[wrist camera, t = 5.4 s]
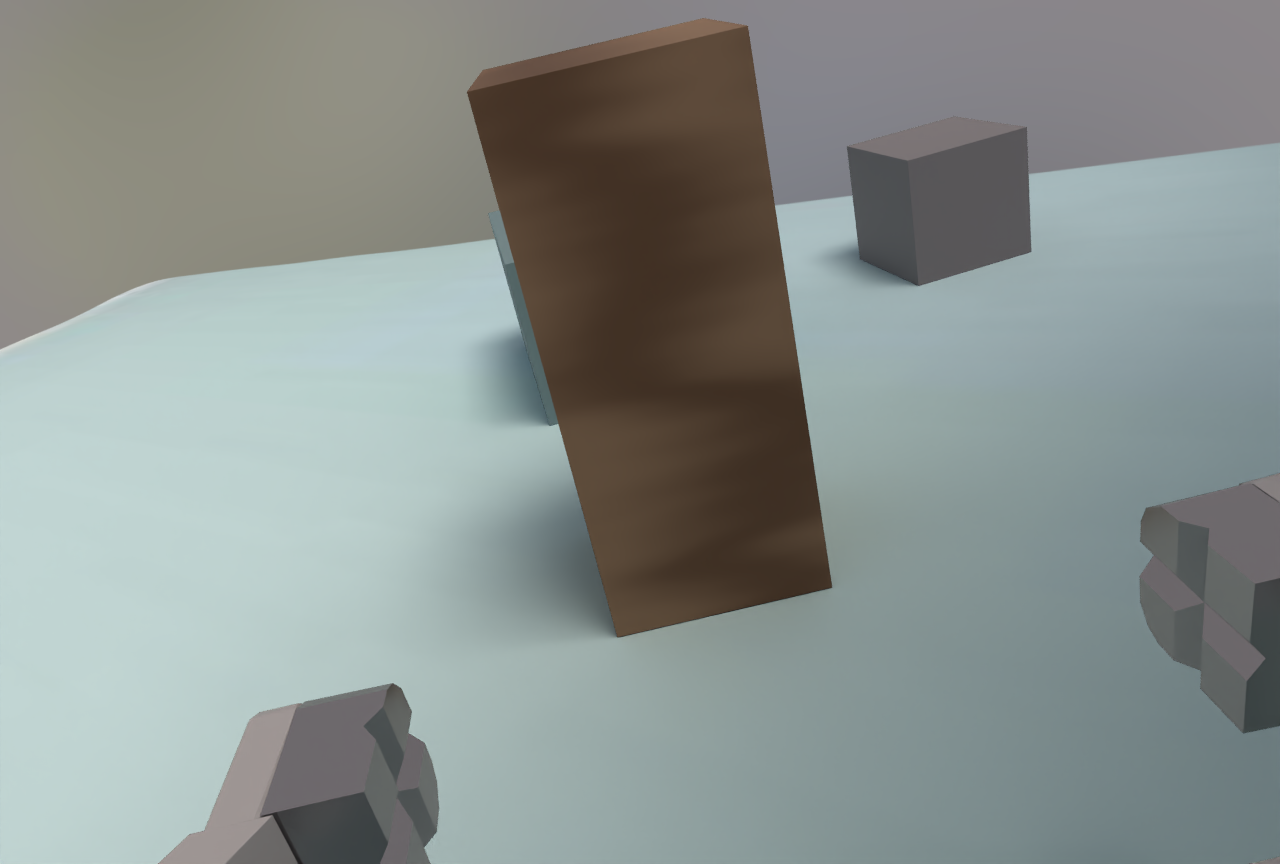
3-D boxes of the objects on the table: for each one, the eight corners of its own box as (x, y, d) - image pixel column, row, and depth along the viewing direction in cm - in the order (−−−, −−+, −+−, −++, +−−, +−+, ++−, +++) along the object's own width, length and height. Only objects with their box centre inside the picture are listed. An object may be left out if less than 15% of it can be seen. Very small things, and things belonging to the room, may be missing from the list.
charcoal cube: (961, 230, 43) (954, 116, 41) (1031, 253, 38) (1026, 127, 36) (860, 260, 42) (846, 146, 40) (919, 288, 38) (907, 160, 36)
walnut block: (782, 484, 26) (703, 18, 21) (831, 587, 22) (747, 25, 17) (604, 526, 26) (482, 70, 21) (617, 637, 22) (466, 91, 17)
